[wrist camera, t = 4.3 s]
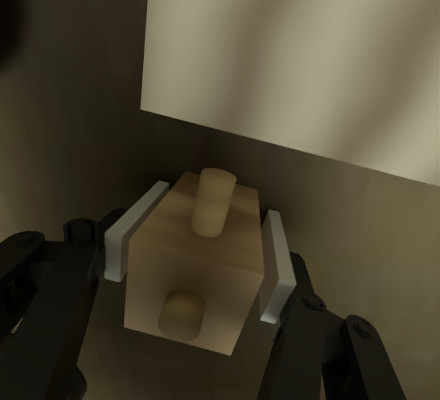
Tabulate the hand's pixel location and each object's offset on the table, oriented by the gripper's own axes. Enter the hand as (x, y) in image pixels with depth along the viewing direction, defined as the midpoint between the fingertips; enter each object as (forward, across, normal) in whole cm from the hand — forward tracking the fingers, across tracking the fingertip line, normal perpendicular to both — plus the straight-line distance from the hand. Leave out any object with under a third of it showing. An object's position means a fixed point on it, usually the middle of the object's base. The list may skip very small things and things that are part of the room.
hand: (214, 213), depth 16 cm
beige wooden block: (0, 0, +1) cm, 1 cm away
